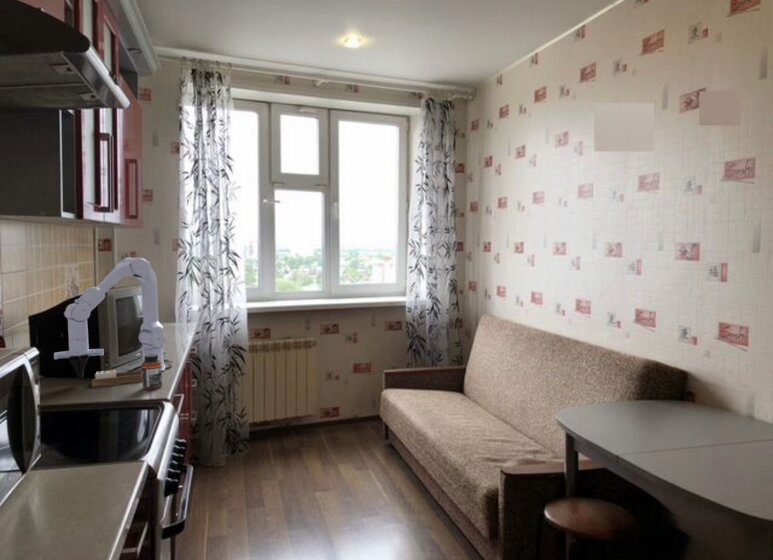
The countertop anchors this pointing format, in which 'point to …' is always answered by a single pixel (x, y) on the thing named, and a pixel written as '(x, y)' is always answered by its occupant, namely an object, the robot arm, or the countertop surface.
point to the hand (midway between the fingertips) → (80, 377)
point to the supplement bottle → (151, 372)
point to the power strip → (106, 374)
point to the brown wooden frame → (119, 379)
